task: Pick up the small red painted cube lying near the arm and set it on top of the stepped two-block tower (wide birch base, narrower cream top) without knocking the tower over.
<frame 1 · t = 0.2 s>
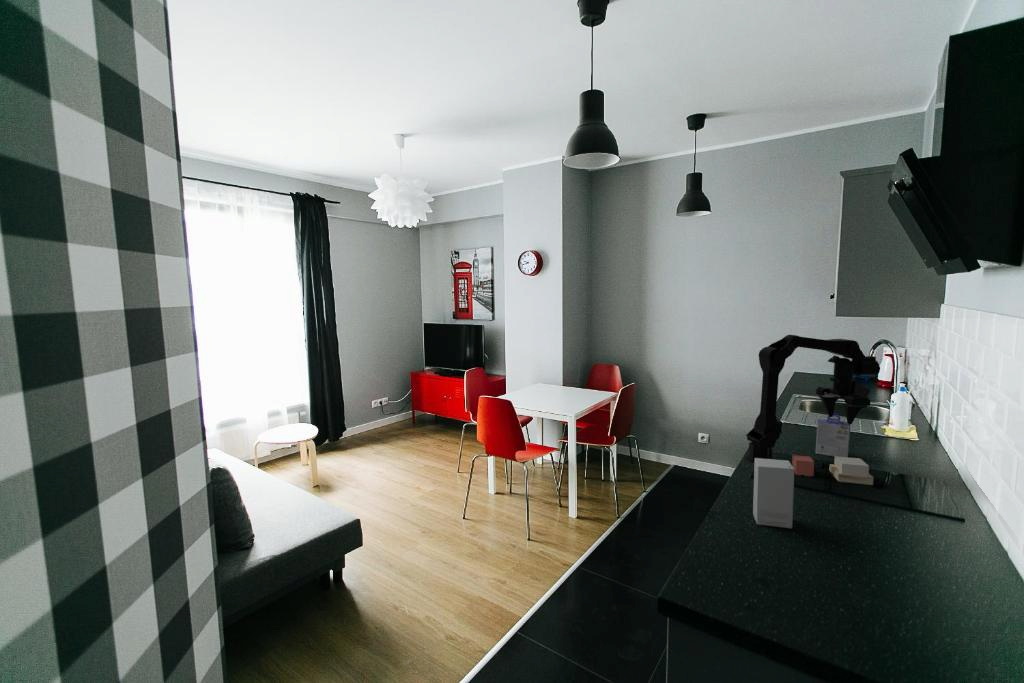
hand: (840, 420, 162), 14 cm above the worktop, fingers open, 9 cm apart
tower top: (850, 470, 148), point 2 cm above the worktop
tower base: (850, 479, 149), on the worktop
ink cartridge box: (831, 455, 170), on the worktop
red cube: (802, 473, 153), on the worktop
skincare box: (771, 522, 120), on the worktop
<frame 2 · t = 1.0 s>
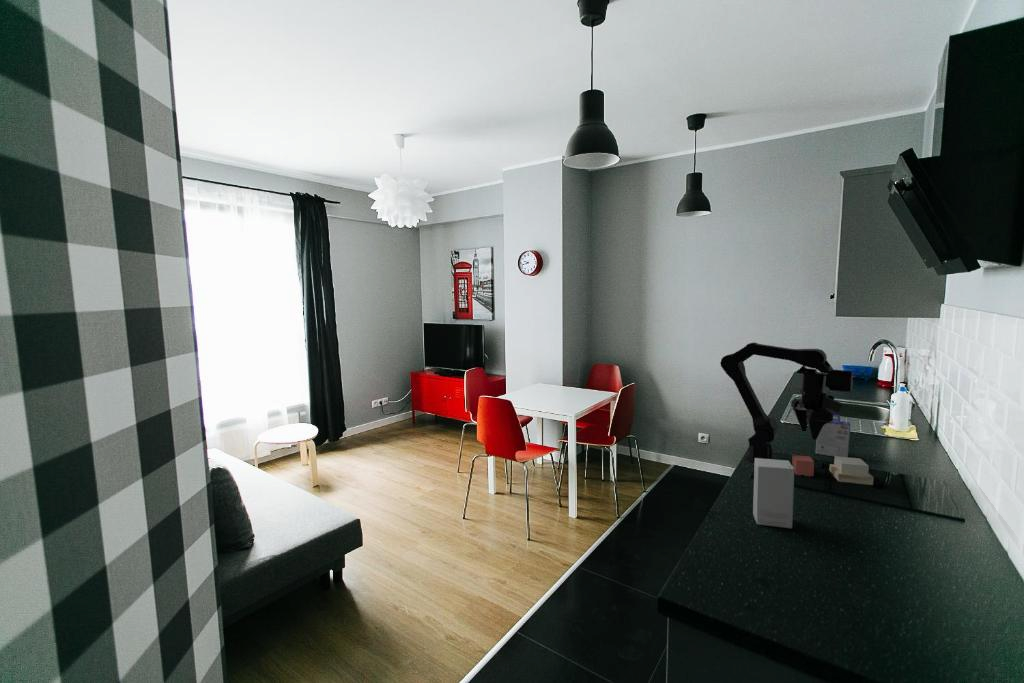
hand: (808, 435, 153), 12 cm above the worktop, fingers open, 9 cm apart
tower top: (850, 470, 148), point 2 cm above the worktop, touching tower base
tower base: (850, 479, 149), on the worktop, touching tower top
everything else where it was.
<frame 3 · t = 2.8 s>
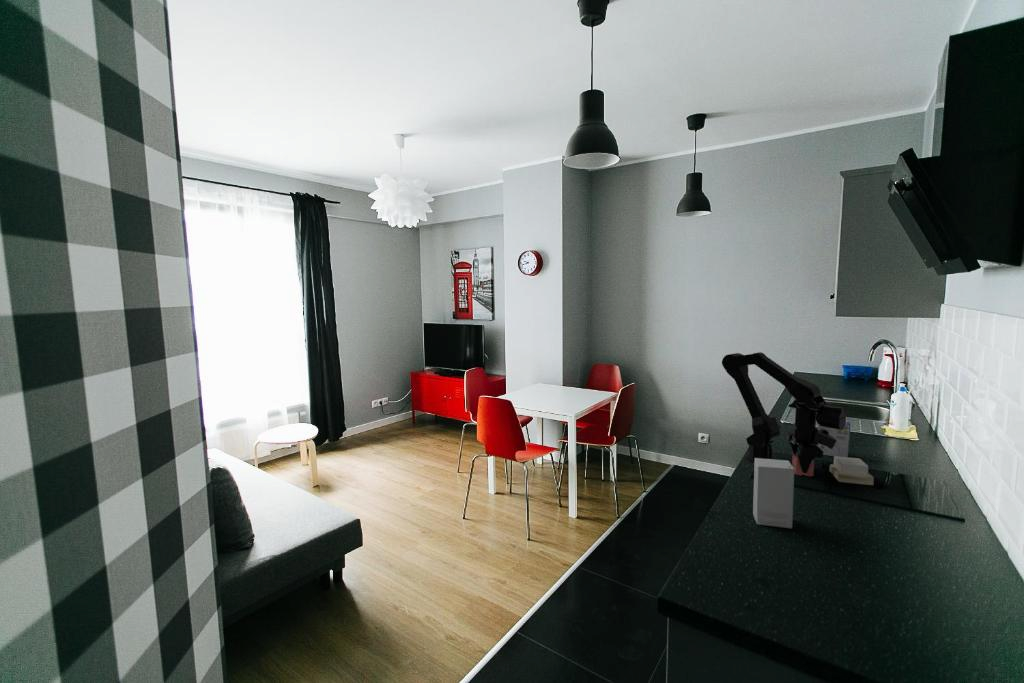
hand: (802, 469, 153), 1 cm above the worktop, fingers closed on red cube, 5 cm apart
red cube: (802, 472, 153), on the worktop, touching gripper
everything else where it was.
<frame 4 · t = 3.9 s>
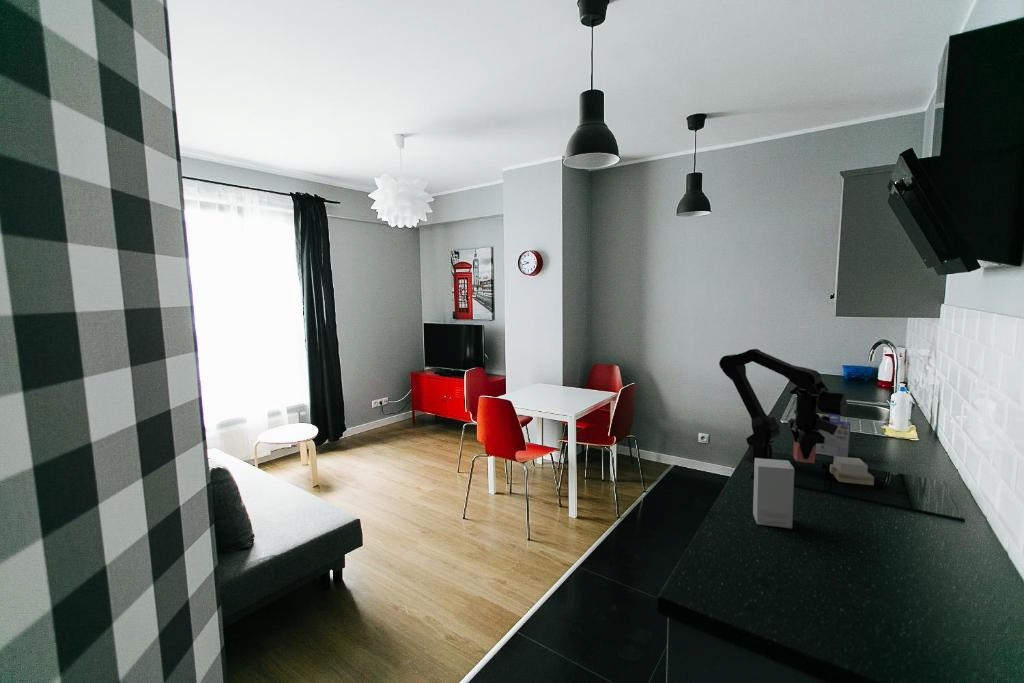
hand: (803, 456, 152), 6 cm above the worktop, fingers closed on red cube, 5 cm apart
red cube: (803, 459, 152), point 4 cm above the worktop, touching gripper
everything else where it was.
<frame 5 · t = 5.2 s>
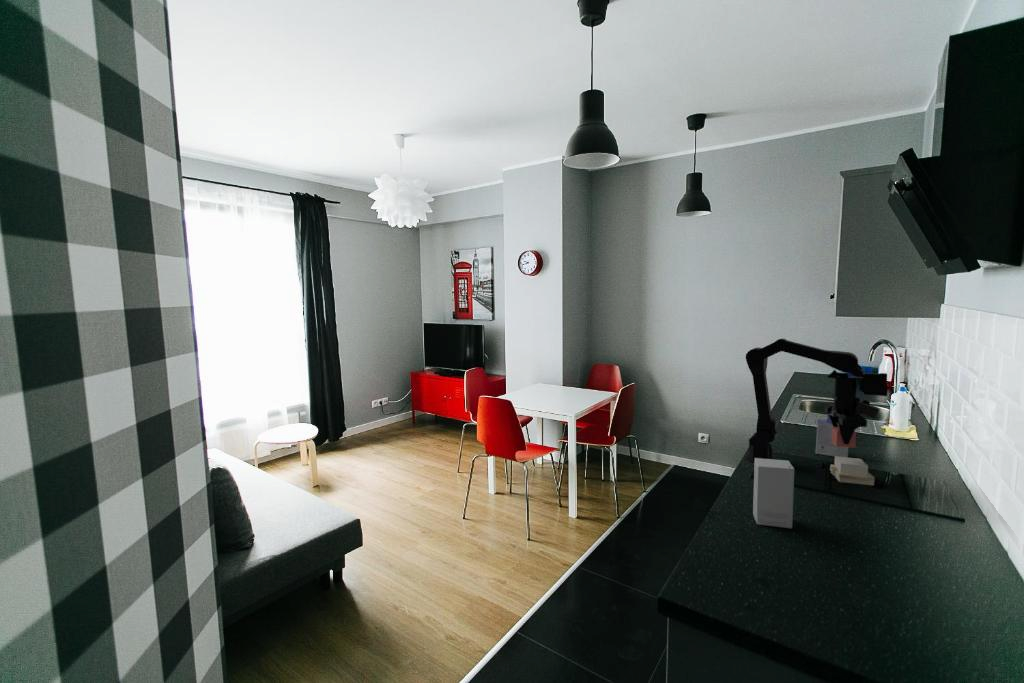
hand: (843, 441, 148), 12 cm above the worktop, fingers closed on red cube, 5 cm apart
tower top: (850, 470, 148), point 2 cm above the worktop
tower base: (851, 479, 148), on the worktop
red cube: (843, 444, 148), point 11 cm above the worktop, touching gripper
everything else where it was.
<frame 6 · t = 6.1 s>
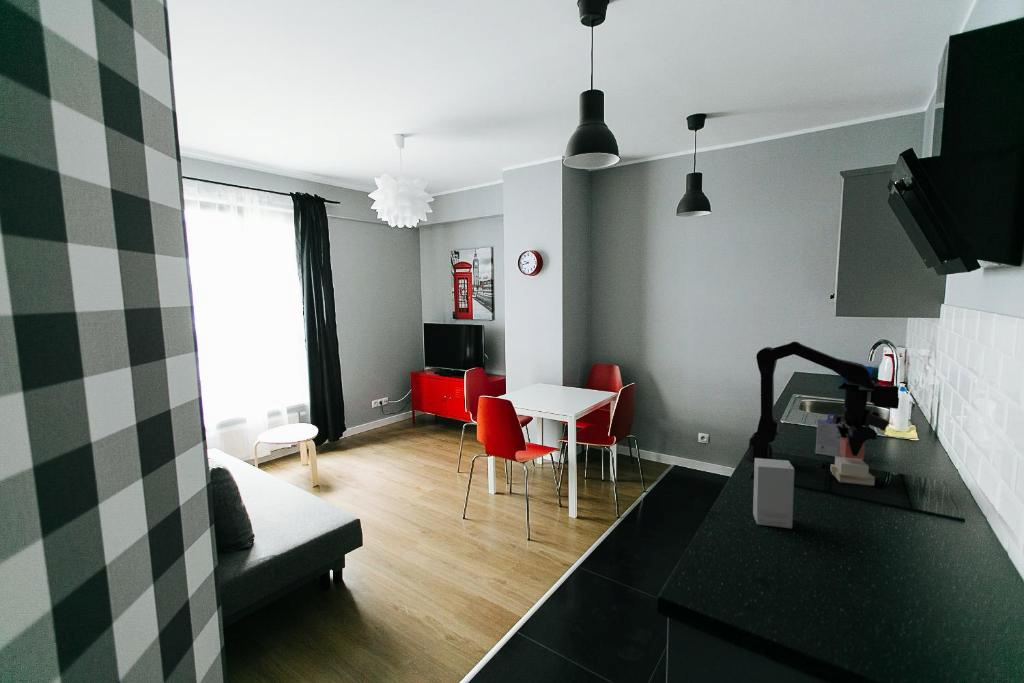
hand: (851, 452, 148), 8 cm above the worktop, fingers closed on red cube, 5 cm apart
tower top: (850, 470, 148), point 2 cm above the worktop, touching tower base
tower base: (851, 479, 148), on the worktop, touching tower top
red cube: (851, 455, 148), point 7 cm above the worktop, touching gripper
everything else where it was.
when the fingers open (8 cm above the worktop, at t = 6.5 s): red cube drops 1 cm, resting on tower top.
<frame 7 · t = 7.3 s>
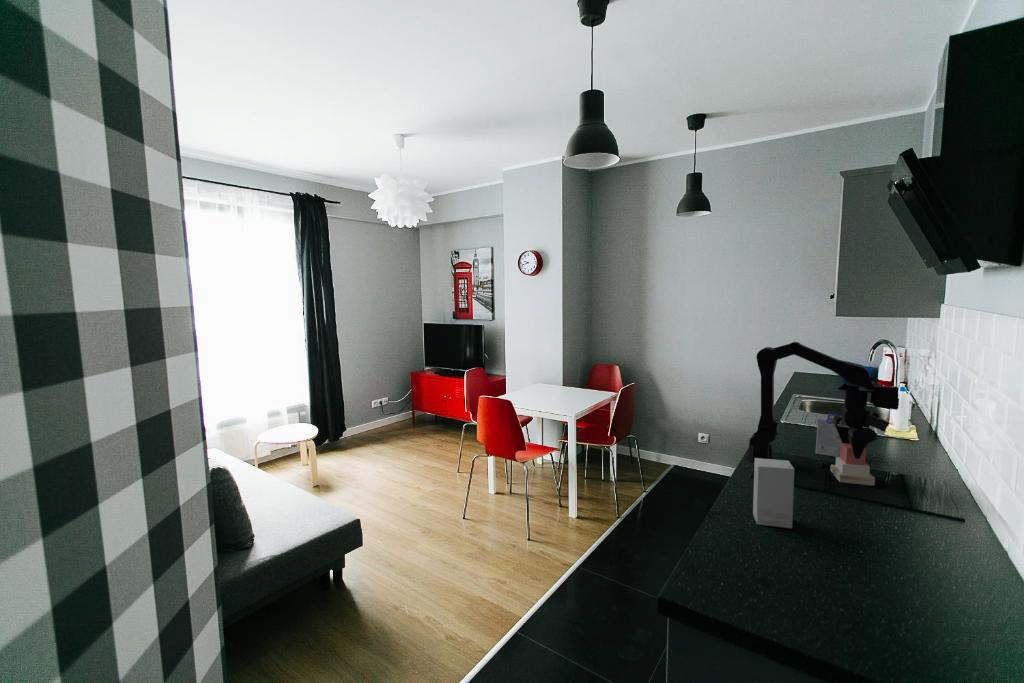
hand: (851, 453, 148), 8 cm above the worktop, fingers open, 9 cm apart
tower top: (851, 471, 148), point 2 cm above the worktop, touching red cube, tower base
red cube: (852, 461, 147), point 5 cm above the worktop, touching tower top
everything else where it was.
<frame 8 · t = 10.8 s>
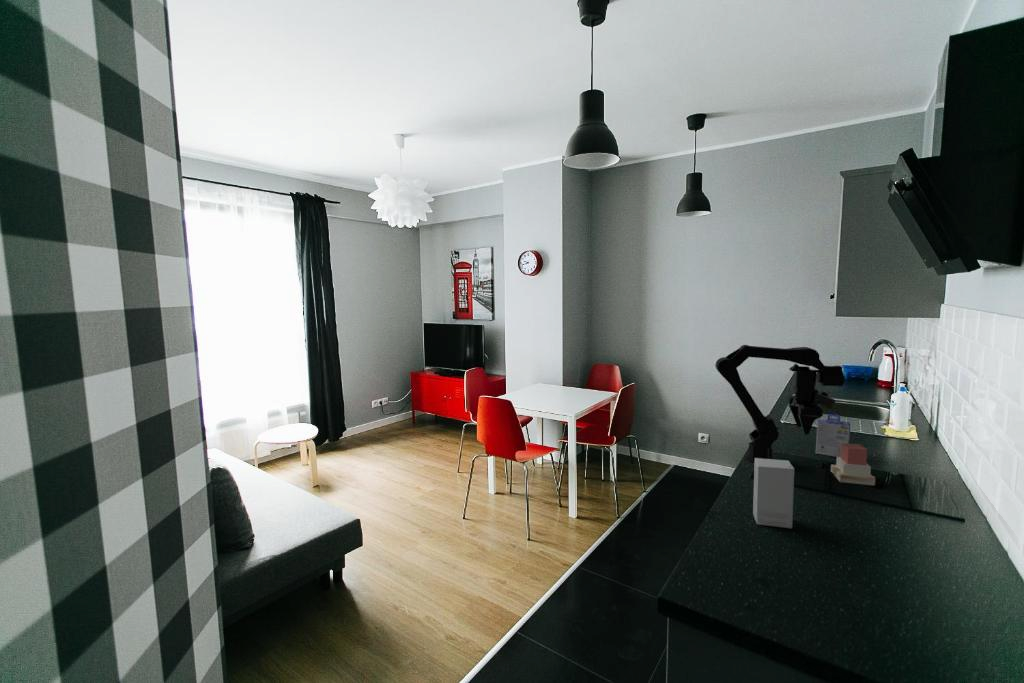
hand: (802, 430, 158), 12 cm above the worktop, fingers open, 9 cm apart
tower top: (852, 470, 148), point 2 cm above the worktop, touching tower base
red cube: (853, 461, 147), point 5 cm above the worktop
everything else where it was.
at the end: red cube 0.1 cm off-centre on the tower base, point 6.0 cm above the tower base's base; tower top moved 0.8 cm from its start; red cube tilted 1° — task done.
